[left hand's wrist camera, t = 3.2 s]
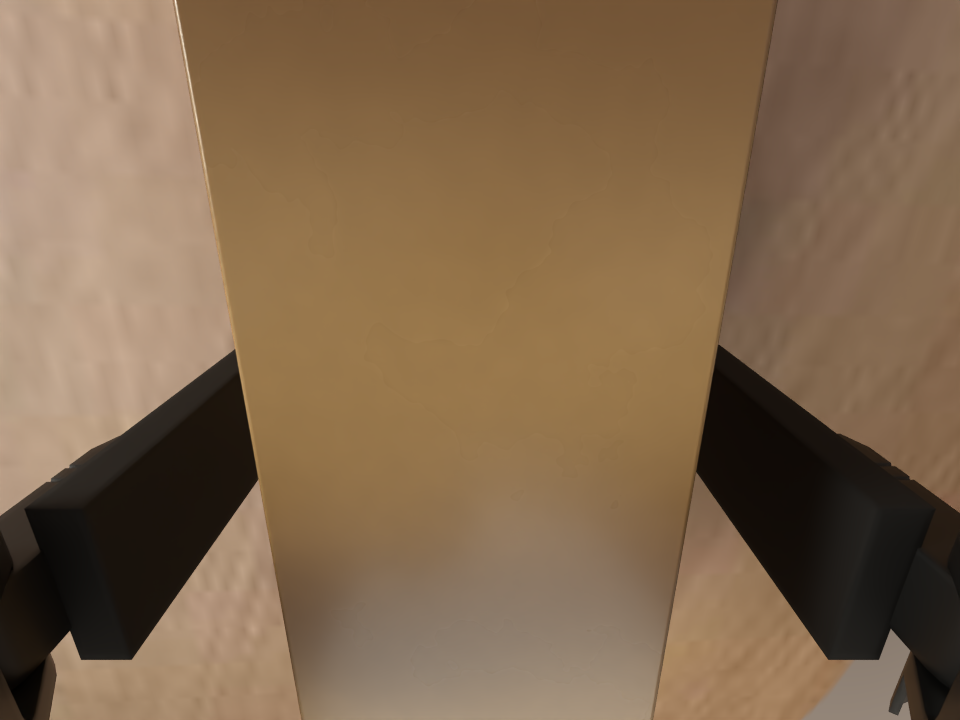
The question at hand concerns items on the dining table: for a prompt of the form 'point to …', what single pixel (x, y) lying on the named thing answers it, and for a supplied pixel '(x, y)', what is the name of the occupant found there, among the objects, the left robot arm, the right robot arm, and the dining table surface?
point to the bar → (476, 328)
